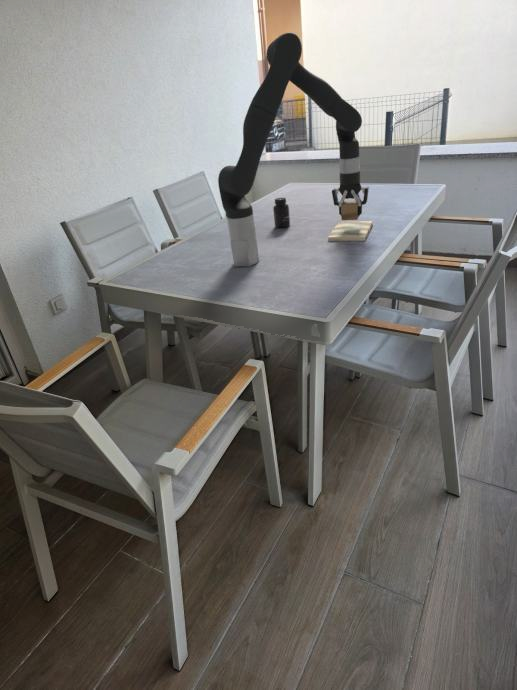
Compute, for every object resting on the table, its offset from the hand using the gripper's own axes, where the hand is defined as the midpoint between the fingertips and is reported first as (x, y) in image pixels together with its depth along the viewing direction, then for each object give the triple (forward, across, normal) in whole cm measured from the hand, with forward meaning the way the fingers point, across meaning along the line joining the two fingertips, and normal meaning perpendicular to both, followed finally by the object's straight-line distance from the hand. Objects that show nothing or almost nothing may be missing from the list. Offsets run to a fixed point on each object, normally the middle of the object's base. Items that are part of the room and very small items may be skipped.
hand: (350, 215), depth 173 cm
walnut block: (+1, 0, 0) cm, 1 cm away
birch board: (+7, 0, 0) cm, 7 cm away
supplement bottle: (+7, -32, +10) cm, 34 cm away
